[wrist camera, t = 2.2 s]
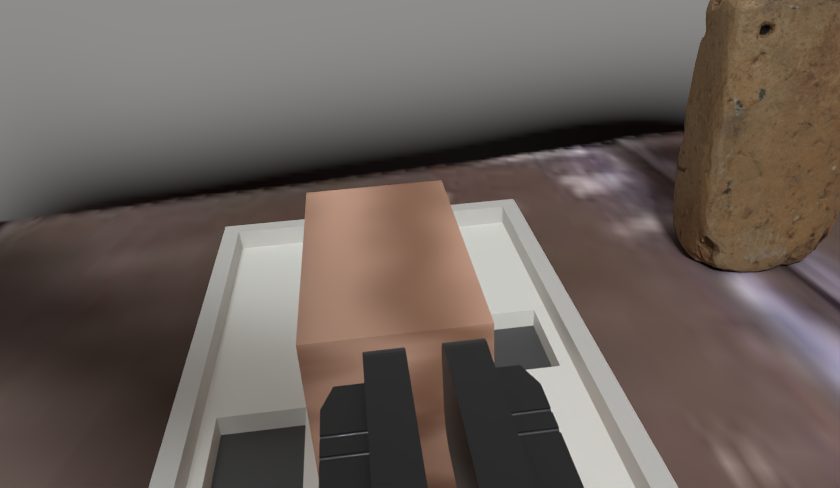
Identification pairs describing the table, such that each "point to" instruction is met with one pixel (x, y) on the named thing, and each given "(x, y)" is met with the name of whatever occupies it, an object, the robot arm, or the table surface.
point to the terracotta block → (386, 299)
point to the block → (761, 135)
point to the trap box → (282, 385)
